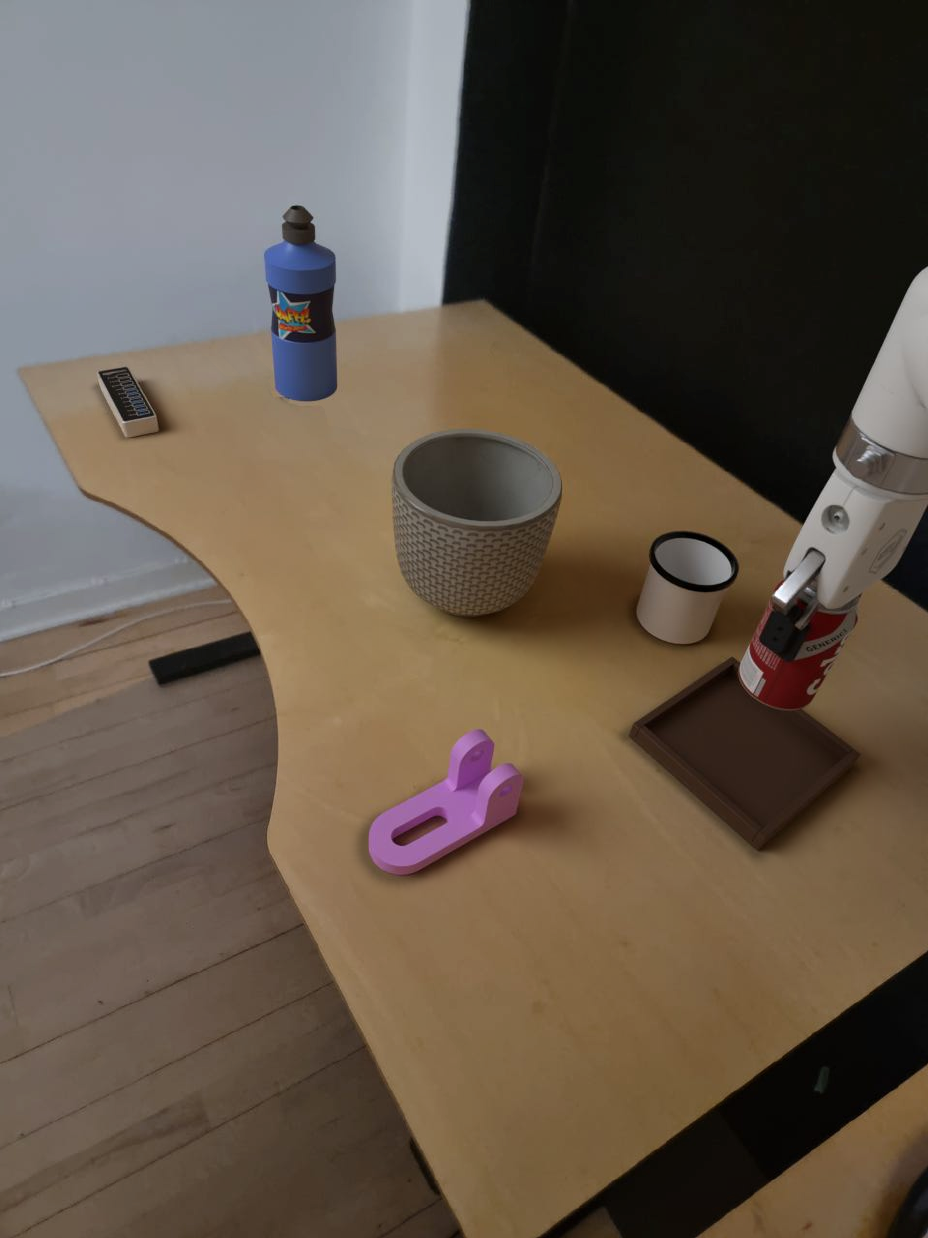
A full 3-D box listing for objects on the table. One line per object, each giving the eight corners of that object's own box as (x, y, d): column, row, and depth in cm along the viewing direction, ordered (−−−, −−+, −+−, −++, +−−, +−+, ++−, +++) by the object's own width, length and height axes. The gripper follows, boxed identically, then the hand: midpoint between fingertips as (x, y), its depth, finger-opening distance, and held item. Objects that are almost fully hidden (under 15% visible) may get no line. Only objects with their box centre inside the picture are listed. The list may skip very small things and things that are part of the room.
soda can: (738, 708, 74) (786, 608, 65) (733, 653, 79) (777, 554, 70) (816, 722, 73) (874, 624, 65) (806, 666, 78) (859, 568, 70)
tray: (852, 766, 83) (861, 753, 81) (757, 851, 75) (764, 839, 73) (726, 668, 91) (732, 655, 89) (628, 736, 83) (632, 723, 81)
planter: (432, 526, 104) (441, 410, 93) (562, 575, 99) (588, 460, 88) (358, 609, 92) (358, 488, 81) (502, 669, 88) (523, 550, 77)
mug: (664, 659, 91) (687, 597, 84) (614, 603, 97) (632, 541, 90) (748, 629, 95) (776, 568, 89) (696, 577, 101) (718, 516, 95)
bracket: (479, 770, 78) (487, 723, 74) (515, 814, 75) (526, 768, 71) (356, 835, 72) (356, 789, 68) (390, 886, 69) (393, 841, 65)
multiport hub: (126, 438, 112) (122, 422, 110) (99, 385, 120) (95, 370, 118) (159, 431, 113) (157, 416, 112) (131, 380, 122) (128, 365, 120)
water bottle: (323, 407, 121) (317, 226, 104) (263, 393, 122) (246, 212, 105) (347, 377, 128) (345, 202, 110) (290, 364, 129) (279, 189, 112)
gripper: (877, 522, 53) (778, 706, 65) (1004, 441, 61) (895, 617, 74) (777, 463, 56) (702, 648, 69) (910, 395, 65) (822, 570, 77)
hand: (802, 631), depth 71 cm, fingers closed on soda can, 6 cm apart
